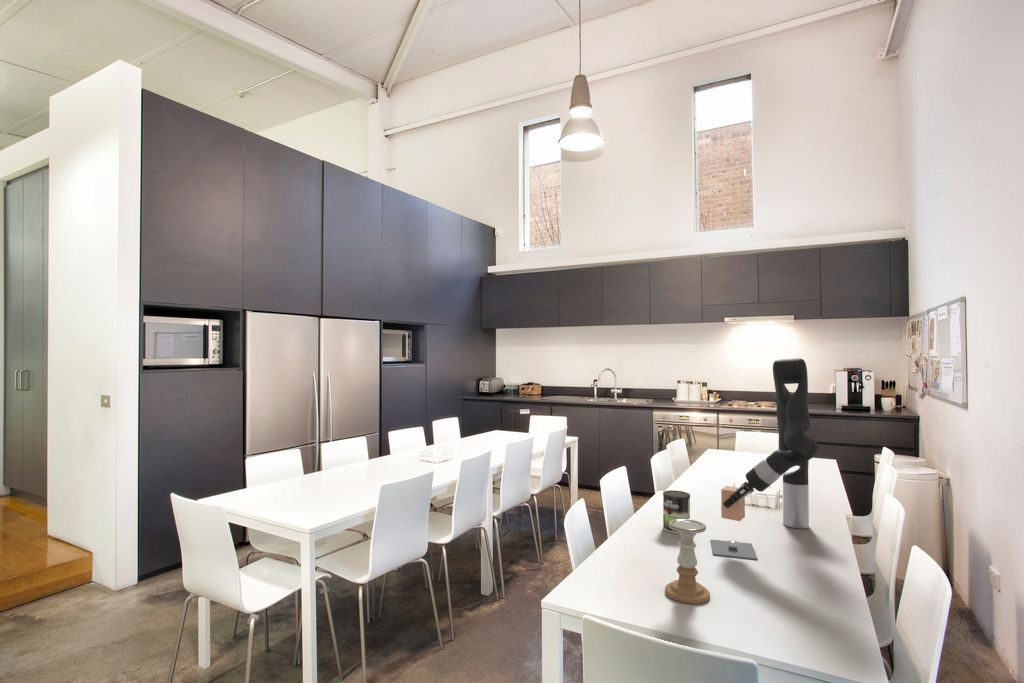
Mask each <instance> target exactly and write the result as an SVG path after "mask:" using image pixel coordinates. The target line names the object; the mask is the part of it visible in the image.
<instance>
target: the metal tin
mask: <svg viewBox="0 0 1024 683" xmlns="http://www.w3.org/2000/svg"><path fill="white" fill-rule="evenodd" d="M727 541H728V548H729V549H731V550H737V542H738V541H736V540H733V539H729V540H727Z"/></svg>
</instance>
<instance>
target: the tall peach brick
mask: <svg viewBox="0 0 1024 683" xmlns="http://www.w3.org/2000/svg"><path fill="white" fill-rule="evenodd" d="M738 488H739V487H735V486H730V485H726V486H724V487H722V488H721V491H720V493H721V497H720V498H721V502H720V503H721V506H720V507H721V510H720V511H721V519H725V520H731V521H736V522H741V521H742V520H743V519H744V518H746V497H744V498H743V499H739V500H738V501H737V502H735V503H734V504H732V505H731V506H730V507H729V508H726V507H725V506H724V505H723V503H724V502H725V501H726V500H727V499H729V498H730V496H731V495H733V494H734V493H735V491H736V490H737V489H738ZM734 497H735V498H736V499H738V497H737V495H734Z"/></svg>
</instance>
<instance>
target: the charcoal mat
mask: <svg viewBox="0 0 1024 683" xmlns="http://www.w3.org/2000/svg"><path fill="white" fill-rule="evenodd" d="M728 541H729V540H720V539H710V545H711V551H712V555H713V556H717V557H727V558H735V559H745V560H755V561H758V559H759V558H758V556H757V554H756V551H755V549H754V548H755V547H754V546H753V544H752V543H750V542H741V541H737V550H731V549H729V548H728Z"/></svg>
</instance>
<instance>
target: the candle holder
mask: <svg viewBox="0 0 1024 683" xmlns="http://www.w3.org/2000/svg"><path fill="white" fill-rule="evenodd" d="M668 526H669V527H670V528H671V529H672V530H675V531H678V533H679V535H680V540H679V541H678V543H677V545H678V546H679V552H678V555H677V559H676V562H677V563H678V566H677V567H676V572H677V573H678V579H676V580H673V581H671V582H669V583H667V584H666V585H665V587H664V592H665V595H666V596H667V597H668V598H670V599H671V600H674V601H675V602H679V603H682V604H687V605H700V604H705V603H707V602H708V601H709V600H710V598H711V592H710V591H709V589H707V588H706V587H705V586H704V585H702V584H701V583H699V582H697V580H696V576H697V575H698V573H699V571H698V569H697V568H696V566H697V565H698V559H697V557H696V553H695V549H696V547H697V543H696V542H695V541H694V539H695V536H696V535H698V534H702V533H704V532H705V531H706V530H707V525H706V524H705V523H703V522H701V521H698V520H696V519H695V520H694V519H674V520H671V521H669V523H668Z"/></svg>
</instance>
